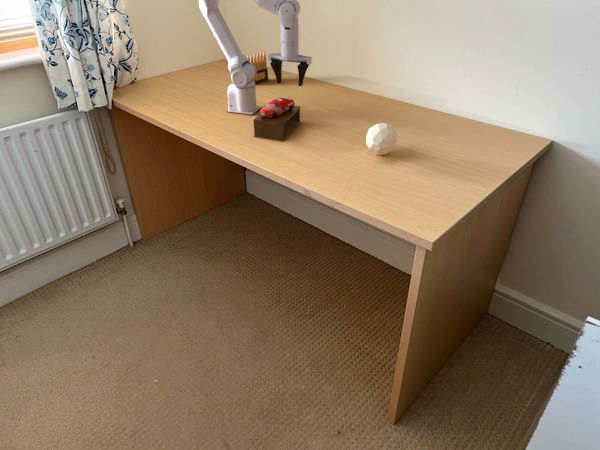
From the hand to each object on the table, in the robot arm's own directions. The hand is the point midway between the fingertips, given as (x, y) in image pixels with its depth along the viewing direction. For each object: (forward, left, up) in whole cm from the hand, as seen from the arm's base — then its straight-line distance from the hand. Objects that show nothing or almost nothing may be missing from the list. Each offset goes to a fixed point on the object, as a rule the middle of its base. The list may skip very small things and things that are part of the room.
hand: (290, 84), depth 146 cm
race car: (+1, -15, -5) cm, 15 cm away
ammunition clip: (-26, +30, -11) cm, 41 cm away
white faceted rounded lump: (+35, -22, -11) cm, 43 cm away
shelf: (+1, -15, -10) cm, 18 cm away
